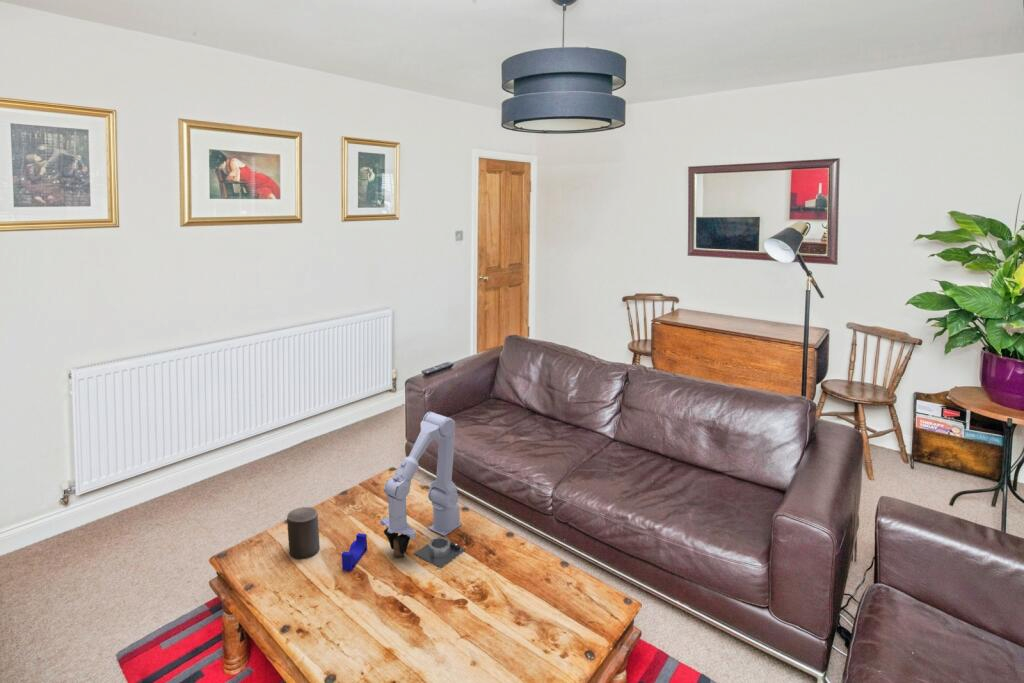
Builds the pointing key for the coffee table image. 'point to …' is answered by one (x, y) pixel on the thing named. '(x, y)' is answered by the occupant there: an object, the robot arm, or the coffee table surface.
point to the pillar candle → (303, 532)
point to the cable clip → (354, 552)
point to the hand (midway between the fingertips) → (398, 550)
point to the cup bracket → (439, 551)
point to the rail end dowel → (397, 549)
